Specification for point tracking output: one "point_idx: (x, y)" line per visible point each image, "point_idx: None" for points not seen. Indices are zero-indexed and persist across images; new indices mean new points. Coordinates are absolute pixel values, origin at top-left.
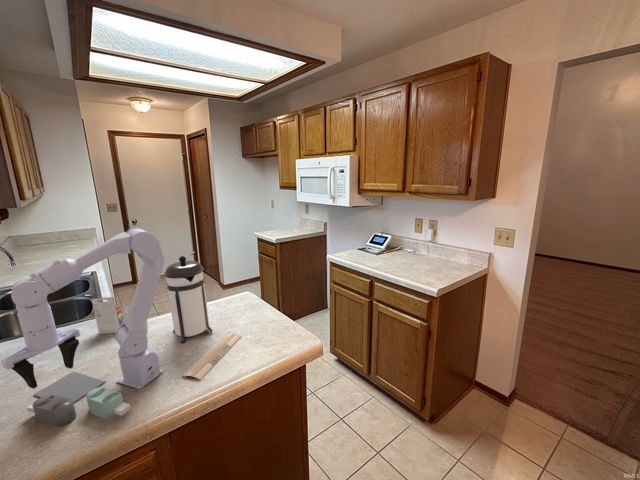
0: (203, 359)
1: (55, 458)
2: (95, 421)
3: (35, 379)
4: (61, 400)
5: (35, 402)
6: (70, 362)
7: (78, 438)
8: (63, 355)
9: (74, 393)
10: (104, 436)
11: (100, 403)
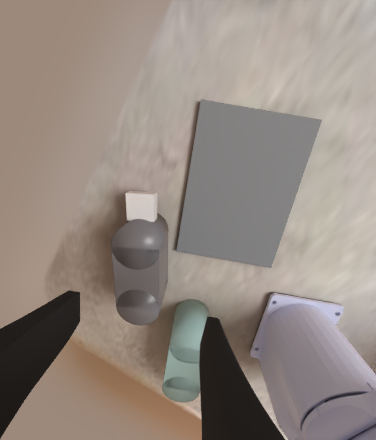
0: None
1: (86, 330)
2: (160, 332)
3: (47, 368)
4: (148, 295)
5: (123, 233)
6: (200, 386)
7: (124, 333)
8: (215, 386)
9: (219, 229)
10: (138, 365)
11: (164, 375)
